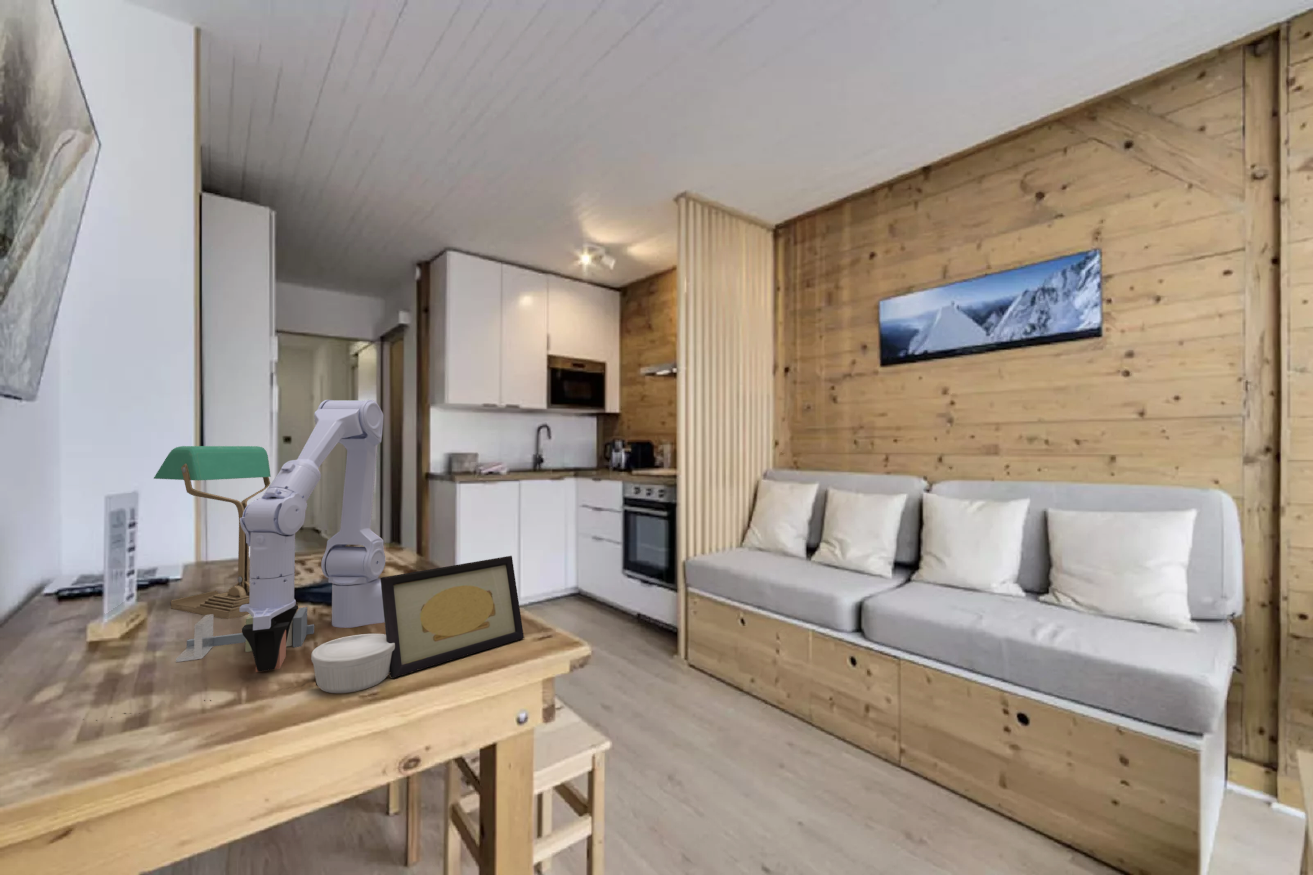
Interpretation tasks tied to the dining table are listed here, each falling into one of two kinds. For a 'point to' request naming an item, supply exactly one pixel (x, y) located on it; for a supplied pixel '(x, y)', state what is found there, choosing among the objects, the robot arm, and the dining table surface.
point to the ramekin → (352, 662)
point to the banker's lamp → (217, 466)
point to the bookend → (199, 640)
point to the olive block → (247, 647)
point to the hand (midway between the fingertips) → (271, 662)
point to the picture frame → (450, 612)
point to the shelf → (298, 632)
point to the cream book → (290, 635)
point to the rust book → (281, 652)
